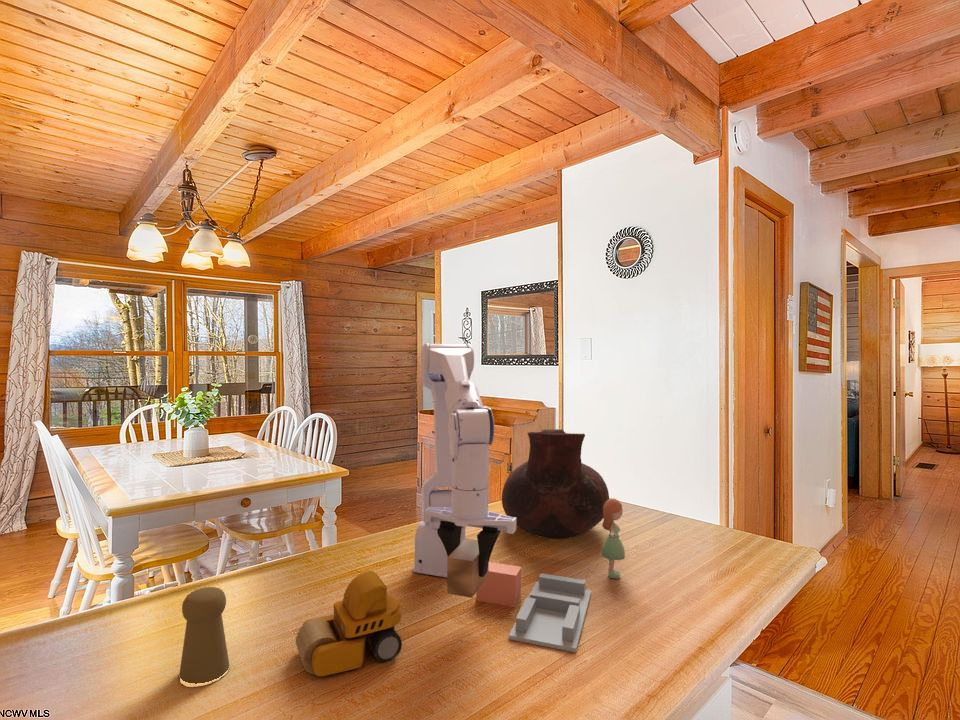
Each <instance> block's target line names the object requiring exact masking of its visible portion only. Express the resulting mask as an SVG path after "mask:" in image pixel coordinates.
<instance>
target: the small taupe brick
mask: <svg viewBox="0 0 960 720" xmlns="http://www.w3.org/2000/svg"><path fill="white" fill-rule="evenodd" d="M488 571H489V564H488V569H487V573H486V574H485V576H484V577H479V547H478V540H477V539H471V538H465V540H464V541H463V542H462V543H461V544H460V545H459V546H458V547H457V548H456V549H455V550H454V551H453V552H452V553H451V554H450V555H449V556H448V557H447V578H446V594H448V595H453V596H459V597H465V598H471V599H473V597H474V596H476V592H477V590H478V589H479V588H480V586H481V585H482V583H483V582H484V581H485V579H486V578H487V576H488Z"/></svg>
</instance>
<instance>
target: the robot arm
mask: <svg viewBox="0 0 960 720" xmlns="http://www.w3.org/2000/svg"><path fill="white" fill-rule="evenodd" d="M474 351H475V350H474V347H473V346H472V345H471V344H470V343H463V344H462V343H460V344H459V343H458V344H457V343H452V344H451V343H429V342H425V343H424V344H423V345H422V346H421V353H420V359H421V360H420V363H421V365H420V366H421V368H420V369H421V382H422V386H423V387H425V388H427V389H429V390H430V391H431V395H432V400H433V423H434V424H433V426H434V427H433V428H434V430H433V431H434V464H435V465H434V467H435V468H434V469H435V470H434V471H435V472H434V473H433V474H432V475H431V476H429V477H428V478H427V479H426V480H424V482H423V483H422V485H421V495H420V515H421V521H420V522H419V524H418V525H417V527H416V531H415V533H414V534H415V535H414V567H413V569H412V572H413V573H417V574H423V575H430V576H434V577H441V578H445V579H447V557H448V556H449V555H450V554H451V553H452V552H453V551H454V550H455V549H456V548H457V547H458V546H459V545H460V544H461V543H462V542H463V541H464V540H465V539H466V528H467V527H471V528H478V529H482V530H480V531H479V533H477V535H476V540H478V547H479V577H484V576H485V574H486V573H487V569H488V564H489V562H490V559H491V555H492V552H493V549H494V548H495V544H496V543H497V539H498V538H499V536H500V534H501V532H506V534H509V535H510V534H512V535H513V534H514V533H516V530H517V526H516V517H510V516H507V515H506V514H502V513H497V512H494V511H490V510H489V490H490V489H489V488H490V487H489V486H490V484H489V483H490V482H489V481H490V480H489V479H490V446H492V445H493V443H494V439H495V427H496V426H495V425H496V424H495V417H494V414H493V410H492V408H491V407H488V406H487V405H483V401H482V397H481V396H480V395H481V394H480V393H479V390H478V388H477V386H476V384H475V383H473V382H472V381H470V379H471V375H472V373H473V371H474V368H475V352H474ZM448 487H449V488H451V489H437V488H448ZM434 489H435V490H434ZM436 489H437V490H436Z"/></svg>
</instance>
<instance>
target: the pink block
mask: <svg viewBox="0 0 960 720" xmlns="http://www.w3.org/2000/svg"><path fill="white" fill-rule="evenodd" d="M475 598H476V599H475V601H478V602H484V603H490V604H493V605H494V604H496V605H501V606H506V607H512V608H516V607H517V605H518V603H519V602H520V600H521V598H522V566H518V565H510V564H505V563H504V564H503V563H498V562H490V561H489V571H488V576H487V578H486V579H485V581H484V582H483V583H482V585H481V586H480V588H479V589H478V590H477V592H476V593H475Z"/></svg>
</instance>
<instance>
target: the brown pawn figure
mask: <svg viewBox="0 0 960 720" xmlns="http://www.w3.org/2000/svg"><path fill="white" fill-rule="evenodd" d="M226 605H227V597H226V593H225V592H224V591H223V589H222V588H220V587H219V588H218V587H216V586H215V587H214V586H206V587H201V588H198V589H195V590H193V591H191V592H190V593H188V594H187V595H186V597H185V598H184V600H183V601H182V605H181V611H182V616H183V618H184V620H186V624H185V632H184V638H183V645H182V653H181V660H180V667H179V674H178V676H179V675H180V678H181V679H182V680H183V681H185V682H188V683H195V684H197V683H205V682H209V681H212V680H214V679H217V678H219V677H220V676H222V675H223V674H224V673H225V672H226V671H227V670H228V668H229V666H230V659H229V654H228V647H227V640H226V633H225V627H224V621H223V612H224V611H225V608H226Z"/></svg>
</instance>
